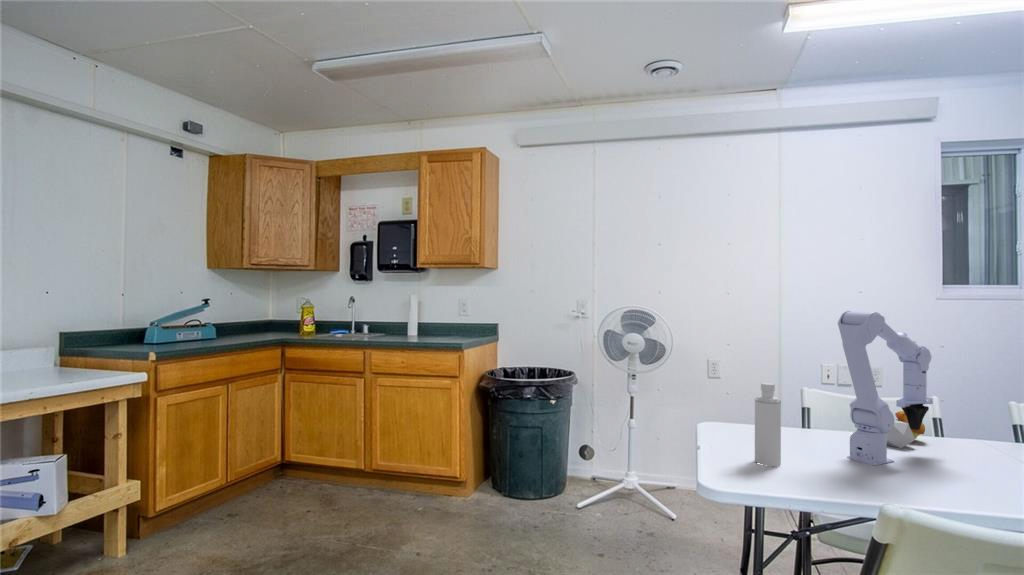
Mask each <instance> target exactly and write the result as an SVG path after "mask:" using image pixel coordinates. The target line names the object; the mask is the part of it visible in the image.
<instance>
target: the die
mask: <svg viewBox="0 0 1024 575" xmlns="http://www.w3.org/2000/svg"><path fill="white" fill-rule="evenodd" d="M897 420H898V419H897ZM897 420H896V419H894V425H893V427H892V429H891V430H890V431H889V432H887V445H888V446H891V447H895V448H897V447H898V448H899V449H903V448H904V447H906V446H909V444H911V443H912V442H914V441H915V440H916V439H915V438H914V436H913V433H912V431H911V429H910V427H909V424H908V423H905V422H901V421H897Z"/></svg>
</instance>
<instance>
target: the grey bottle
mask: <svg viewBox="0 0 1024 575" xmlns="http://www.w3.org/2000/svg"><path fill="white" fill-rule="evenodd" d="M775 386H776V385H775V383H771V382H761V383H760V391H761V395H759V396H757V397H756V398H754V463H755V462H757V463H760V464H763V465H767V466H779V467H781V466H780V465H781V464H782V461H781V460H782V451H781V450H782V434H781V433H782V424H781V423H782V419H781V418H782V408H781V407H782V406H781V405H782V403H781V402H782V401H781V400H780V399H779V398H778V397H776V396H774V395H775V390H776V388H775ZM757 463H756V464H757ZM767 466H766V467H767Z"/></svg>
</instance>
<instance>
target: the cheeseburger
mask: <svg viewBox="0 0 1024 575" xmlns="http://www.w3.org/2000/svg"><path fill="white" fill-rule="evenodd" d="M894 415H895V417H896V419H895V420H897V421H901V422H905V423H908V420H907V417H906V415H905V413H904V411H903V410H900V411H897V412H895V414H894ZM908 424H909V423H908ZM911 431H912V433H913V436H914V438H915V440H916V439H917V438H918V437H919V436H920V435H924V434H925V431H926V425H925V424H924V423H923V422H922V424H921V427H920V430H915V429H911Z"/></svg>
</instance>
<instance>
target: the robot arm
mask: <svg viewBox="0 0 1024 575" xmlns="http://www.w3.org/2000/svg"><path fill="white" fill-rule="evenodd" d="M885 319H886V318H885V316H883V315H882V314H880V313H879V312H878V311H872V312H871V311H869V312H868V311H852V310H845V311H844V312H842V313H841V315H840V317H839V319H838V320H837V326H838V329H839V334H840V338H841V341H842V347H843V352H844V355H845V359H846V363H847V367H848V371H849V374H850V377H851V379H850V380H851V382H852V386H853V389H854V393H855V397H856V398H855V399H853V400H852V401H851V402H850V403H849V408H850V414H849V416H850V421H851V422H852V423H853V424H854V428H856V431H854V432H852V433H853V434H852V435H851V434H850V437H849V455H847V456H846V458H847V459H850V460H854V461H856V462H860V463H863V464H866V465H870V466H878V465H884V464H889V463H895V461H894V459H892V458H888V456H887V454H888V446H887V432H889V431H890V430H891V429H892V427H893V425H894V420H895V416H894V414H893V412H892V411H891V409H890V406H889V404H888V402H886V401H885V400H883V399H882V398H881V397H879V394H878V390H877V387H876V384H875V383H876V382H875V379H874V375H873V371H872V368H871V363H870V359H869V356H868V352H867V348H866V347H867V346H868V345H869V344H871V343H873V341H874V340H875V339H876V338H877V337H879V338H880V339H883V340H884V341H886V346H887V347H888V349H890V350H891V351H893V352H894V353H895V354H896V355H897V357H898V360H899V362H901V363H903V364H902V365H903V367H902V369H903V372H902V376H903V377H902V380H903V381H902V384H903V386H902V387H903V388H902V396H903V397H901V398H899V399H896V407H898V408H901V409H902V411H904V413H905V415H906V417H907V420H908V423H909V427H910V429H915V430H920V427H921V424H922V423H923V422H924V421H923V420H924V418H925V416H926V414H927V413H928V411H929V410H930V409H929V408H930V407H929V406H926V405H928V404H929V405H933V404H934V403H933V402H934V400H933V397H929V396H927V385H928V384H927V371H929V368H930V363H931V361H932V357H933V356H932V355H931V354H932V353H931V351H930V350H929V348H927V347H926V346H921V345H918V343H917V342H916V341H914V340H912V339H911V338H910V337H909V336H908V333H906V332H896V330H894V329H893V328H892V327H891V326H890V325H889V324H887V322H886V320H885Z"/></svg>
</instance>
